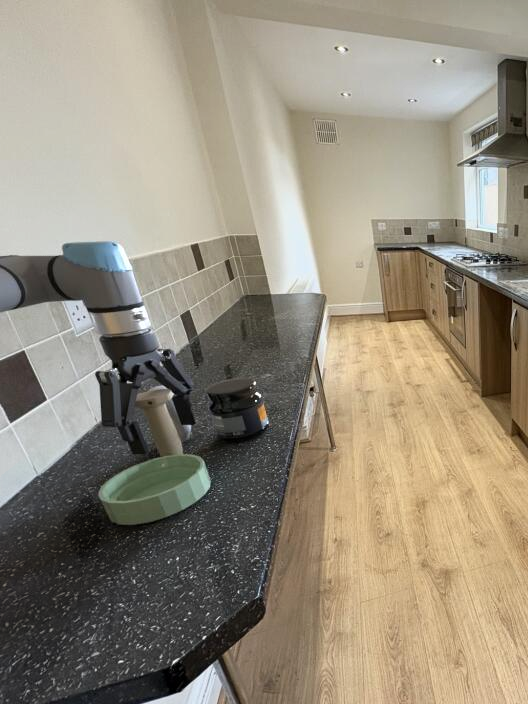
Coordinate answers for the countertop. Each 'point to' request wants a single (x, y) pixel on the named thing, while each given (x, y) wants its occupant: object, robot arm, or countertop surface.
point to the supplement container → (236, 410)
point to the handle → (160, 421)
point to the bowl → (155, 489)
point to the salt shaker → (175, 418)
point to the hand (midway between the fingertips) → (166, 437)
